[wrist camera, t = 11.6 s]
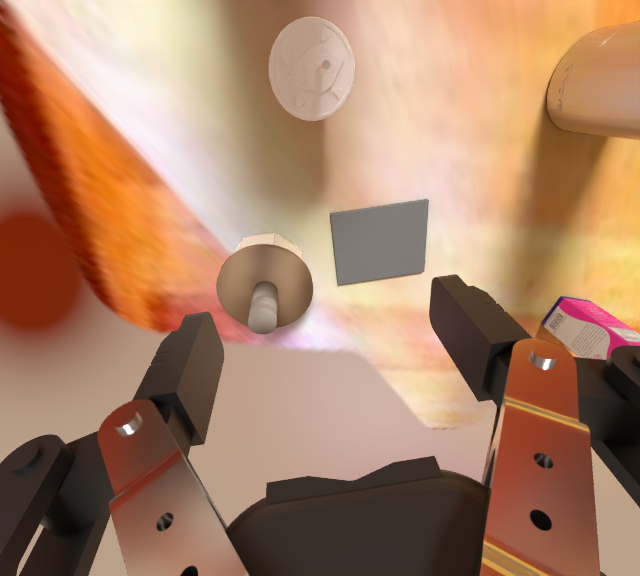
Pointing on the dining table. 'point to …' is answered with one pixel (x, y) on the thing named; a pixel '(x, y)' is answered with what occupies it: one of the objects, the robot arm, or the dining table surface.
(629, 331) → the supplement box
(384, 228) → the mat
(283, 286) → the lid
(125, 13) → the dining table surface
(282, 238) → the bowl
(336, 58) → the smoothie
